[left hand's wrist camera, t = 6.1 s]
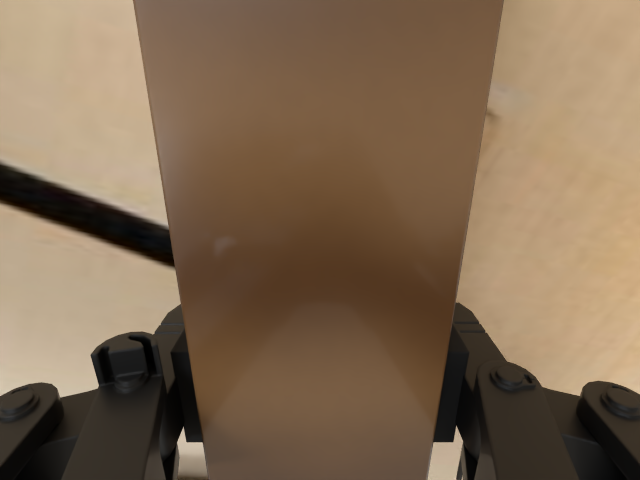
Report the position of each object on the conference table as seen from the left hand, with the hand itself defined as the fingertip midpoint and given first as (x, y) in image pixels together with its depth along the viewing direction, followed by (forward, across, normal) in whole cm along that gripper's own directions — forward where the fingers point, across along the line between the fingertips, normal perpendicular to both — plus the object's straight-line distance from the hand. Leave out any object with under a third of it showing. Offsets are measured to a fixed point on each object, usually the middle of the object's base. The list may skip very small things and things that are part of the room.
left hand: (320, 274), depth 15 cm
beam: (+1, 0, -30) cm, 30 cm away
